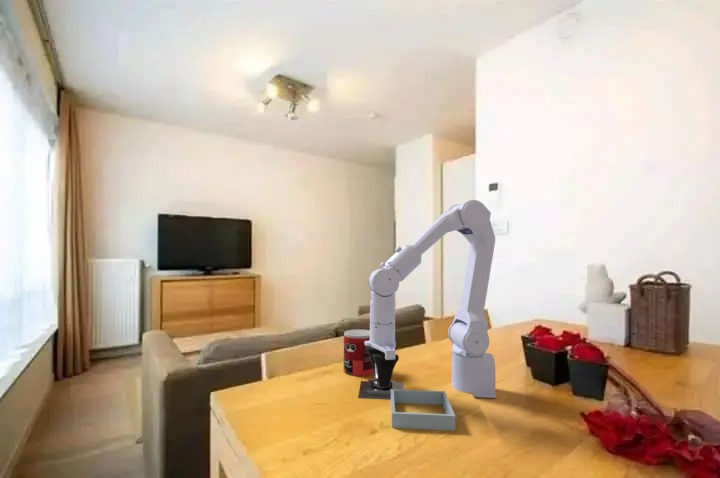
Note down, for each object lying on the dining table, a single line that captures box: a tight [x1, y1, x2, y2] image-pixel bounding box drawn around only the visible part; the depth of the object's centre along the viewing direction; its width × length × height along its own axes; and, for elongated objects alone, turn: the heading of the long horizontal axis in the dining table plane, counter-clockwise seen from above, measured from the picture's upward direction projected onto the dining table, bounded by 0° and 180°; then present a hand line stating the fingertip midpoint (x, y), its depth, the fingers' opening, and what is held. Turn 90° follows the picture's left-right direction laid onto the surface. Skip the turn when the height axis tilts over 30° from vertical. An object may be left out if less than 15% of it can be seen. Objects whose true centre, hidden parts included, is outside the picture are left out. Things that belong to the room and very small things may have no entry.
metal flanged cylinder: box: [372, 364, 390, 390], centre depth 82 cm, size 4×4×7 cm
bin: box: [390, 389, 456, 432], centre depth 70 cm, size 11×11×4 cm
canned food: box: [342, 328, 374, 377], centre depth 95 cm, size 8×8×11 cm
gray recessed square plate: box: [357, 379, 405, 401], centre depth 82 cm, size 10×10×2 cm
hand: (381, 382), depth 82 cm, fingers closed on metal flanged cylinder, 4 cm apart
